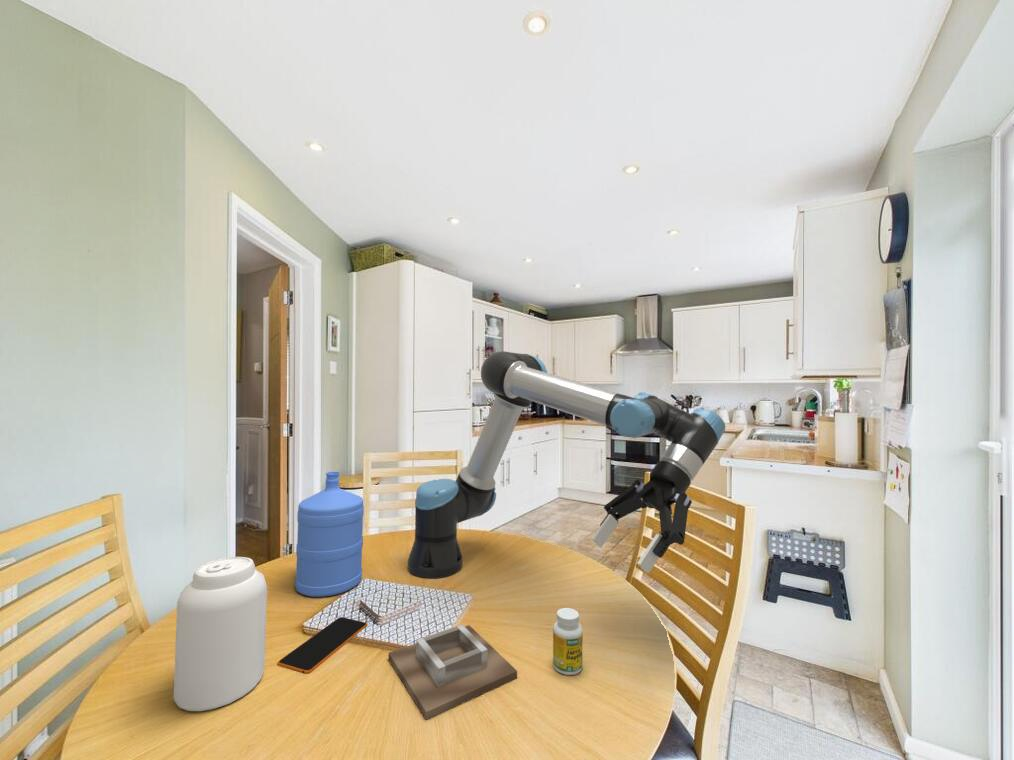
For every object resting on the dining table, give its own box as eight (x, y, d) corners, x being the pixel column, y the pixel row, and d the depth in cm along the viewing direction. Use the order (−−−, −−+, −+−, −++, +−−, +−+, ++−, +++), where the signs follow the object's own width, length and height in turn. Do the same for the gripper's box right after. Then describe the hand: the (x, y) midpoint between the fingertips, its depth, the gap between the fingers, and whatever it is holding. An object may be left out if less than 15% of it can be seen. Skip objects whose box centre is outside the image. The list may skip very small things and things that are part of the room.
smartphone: (369, 626, 89) (369, 622, 89) (308, 677, 73) (308, 672, 73) (339, 619, 91) (339, 615, 91) (274, 667, 75) (275, 662, 75)
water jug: (370, 587, 105) (373, 475, 106) (302, 605, 96) (306, 482, 96) (351, 565, 118) (354, 465, 118) (289, 580, 108) (292, 471, 109)
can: (163, 725, 61) (168, 587, 62) (182, 673, 73) (186, 557, 73) (262, 698, 67) (266, 572, 68) (265, 653, 78) (269, 545, 79)
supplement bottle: (568, 653, 80) (569, 602, 80) (588, 669, 76) (589, 615, 76) (546, 663, 77) (547, 610, 77) (566, 680, 73) (566, 624, 73)
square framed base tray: (388, 659, 77) (389, 636, 77) (468, 630, 87) (469, 610, 87) (426, 720, 63) (426, 691, 63) (517, 677, 73) (517, 653, 73)
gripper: (738, 496, 77) (678, 594, 71) (642, 472, 100) (590, 545, 93) (718, 469, 75) (654, 567, 69) (624, 451, 98) (570, 524, 91)
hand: (617, 555), depth 81 cm, fingers open, 13 cm apart
